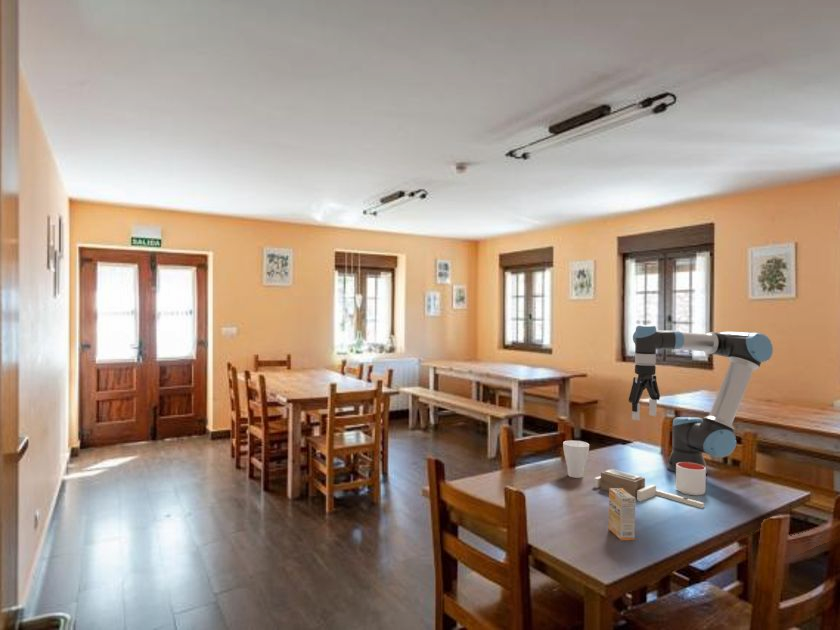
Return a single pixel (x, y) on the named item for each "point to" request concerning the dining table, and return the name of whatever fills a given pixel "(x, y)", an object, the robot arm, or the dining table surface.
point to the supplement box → (622, 513)
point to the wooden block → (622, 481)
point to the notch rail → (652, 491)
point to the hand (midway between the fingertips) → (644, 417)
